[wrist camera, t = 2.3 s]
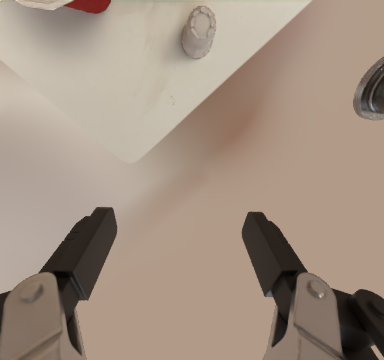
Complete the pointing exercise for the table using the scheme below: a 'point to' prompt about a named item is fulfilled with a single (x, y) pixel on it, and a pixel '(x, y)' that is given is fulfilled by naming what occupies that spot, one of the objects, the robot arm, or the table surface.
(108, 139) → the table surface
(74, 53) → the table surface
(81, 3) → the plastic cup
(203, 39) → the rook chess piece
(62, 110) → the table surface
